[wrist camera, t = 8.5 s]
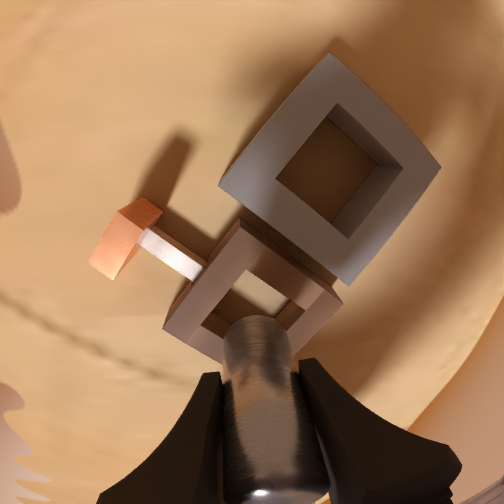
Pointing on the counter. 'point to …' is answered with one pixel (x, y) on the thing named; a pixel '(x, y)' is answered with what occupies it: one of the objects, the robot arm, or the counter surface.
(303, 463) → the rounded metal peg
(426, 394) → the counter surface
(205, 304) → the socket block
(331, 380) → the robot arm
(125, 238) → the pin
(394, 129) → the block
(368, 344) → the counter surface
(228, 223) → the counter surface
